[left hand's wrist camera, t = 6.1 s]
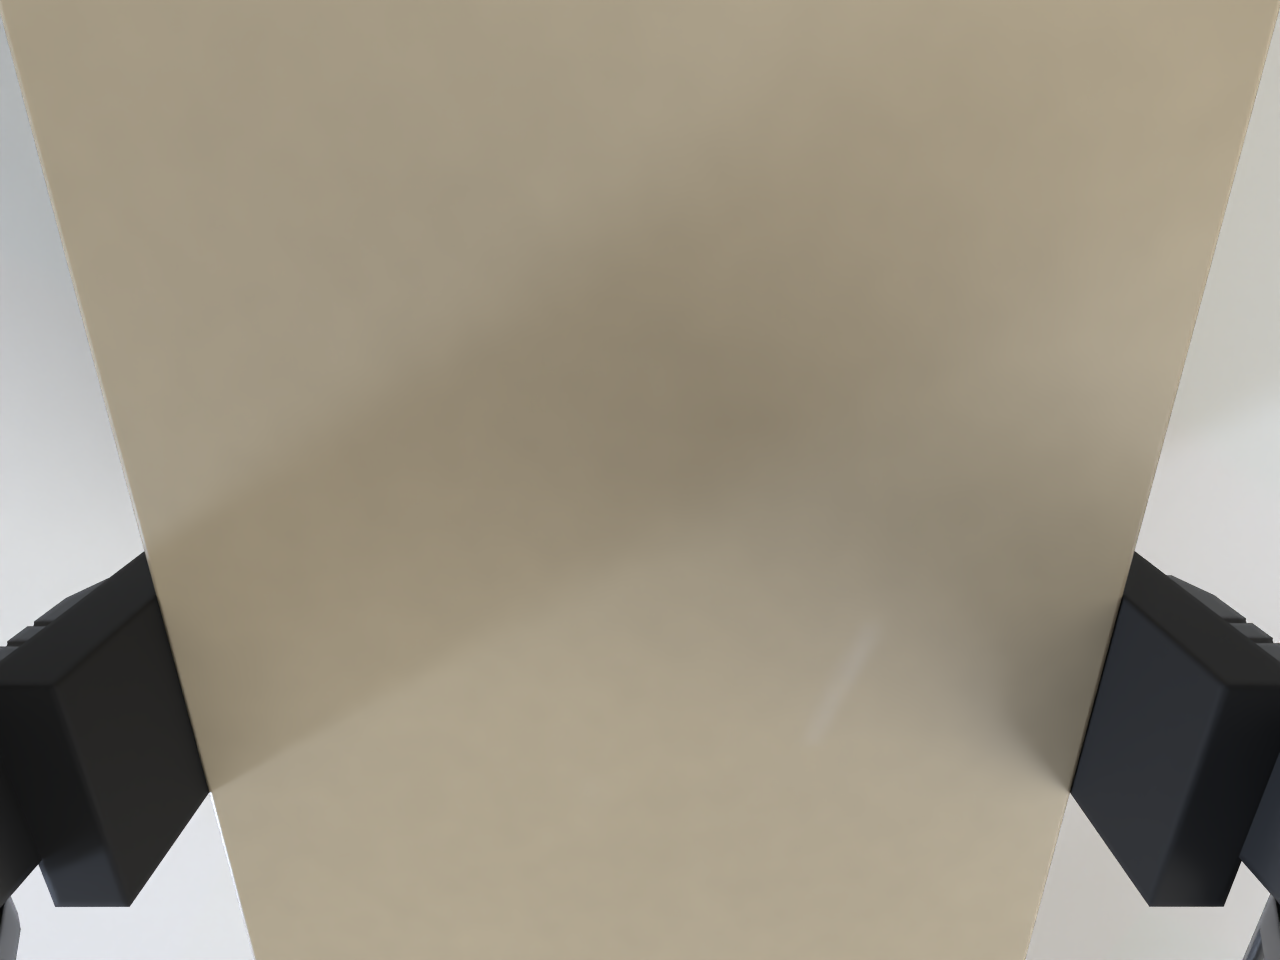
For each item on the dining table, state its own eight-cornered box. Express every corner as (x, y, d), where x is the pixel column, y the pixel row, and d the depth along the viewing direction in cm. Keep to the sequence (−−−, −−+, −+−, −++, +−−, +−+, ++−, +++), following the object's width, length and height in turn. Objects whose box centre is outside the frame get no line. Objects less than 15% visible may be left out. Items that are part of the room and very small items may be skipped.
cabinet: (313, -392, 12) (-493, -1791, 3) (966, -392, 12) (1768, -1793, 3) (430, 611, 19) (255, 974, 10) (848, 611, 19) (1024, 974, 10)
